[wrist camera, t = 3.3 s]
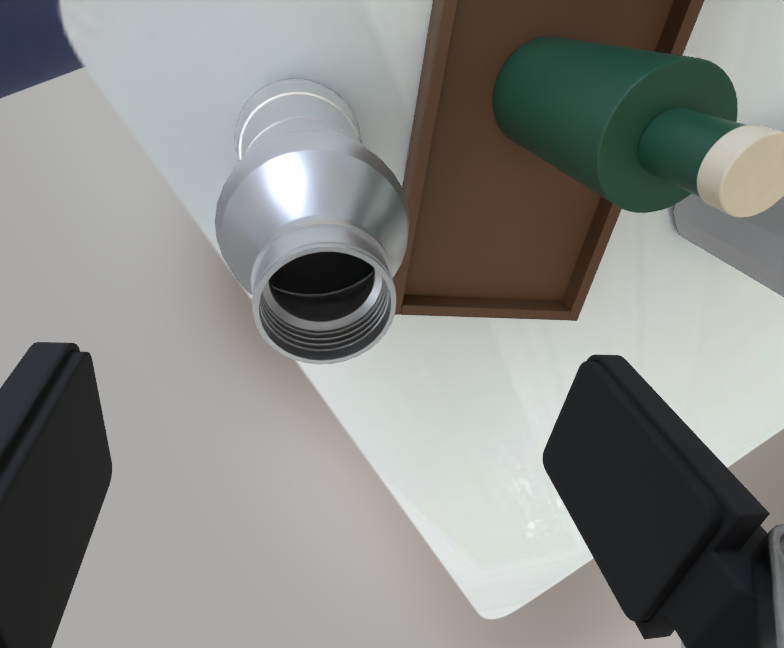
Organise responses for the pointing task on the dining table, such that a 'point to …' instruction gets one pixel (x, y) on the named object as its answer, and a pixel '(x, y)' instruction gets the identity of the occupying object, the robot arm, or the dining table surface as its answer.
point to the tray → (507, 164)
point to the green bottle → (638, 126)
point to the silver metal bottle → (312, 224)
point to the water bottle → (737, 238)
